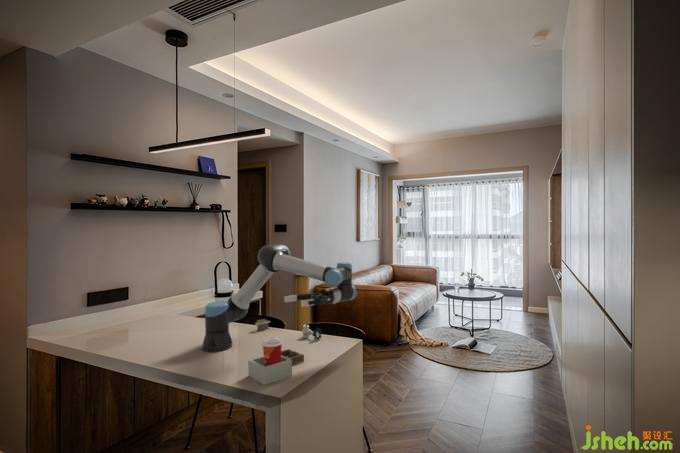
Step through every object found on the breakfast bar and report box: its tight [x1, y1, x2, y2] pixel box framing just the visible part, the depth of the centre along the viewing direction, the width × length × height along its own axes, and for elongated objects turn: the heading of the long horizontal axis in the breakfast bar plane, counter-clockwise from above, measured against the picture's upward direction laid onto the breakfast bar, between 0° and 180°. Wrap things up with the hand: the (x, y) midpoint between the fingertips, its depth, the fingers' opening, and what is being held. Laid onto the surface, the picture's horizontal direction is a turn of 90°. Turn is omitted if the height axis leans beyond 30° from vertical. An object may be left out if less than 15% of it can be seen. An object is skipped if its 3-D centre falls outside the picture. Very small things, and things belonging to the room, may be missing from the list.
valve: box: [301, 324, 323, 341], centre depth 204 cm, size 7×7×12 cm
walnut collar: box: [281, 348, 305, 366], centre depth 167 cm, size 12×12×3 cm
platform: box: [254, 318, 271, 332], centre depth 225 cm, size 12×18×7 cm, turn 135°
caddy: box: [247, 355, 293, 386], centre depth 151 cm, size 13×13×6 cm
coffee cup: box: [261, 337, 283, 367], centre depth 149 cm, size 8×8×15 cm
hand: (292, 301), depth 163 cm, fingers open, 13 cm apart
